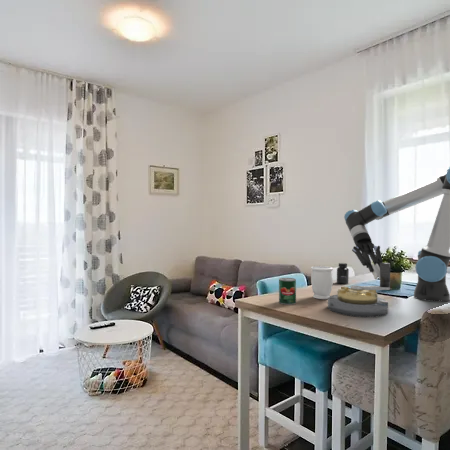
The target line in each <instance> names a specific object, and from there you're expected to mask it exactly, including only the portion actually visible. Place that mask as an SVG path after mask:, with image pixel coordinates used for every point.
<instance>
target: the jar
mask: <svg viewBox="0 0 450 450" xmlns="http://www.w3.org/2000/svg"><path fill="white" fill-rule="evenodd" d="M310 270H311V274H310V282H311V283H310V284H311V290H312V293H313V296H312V297H313V298H314V299H317V300H328V297H330V296H331V295H330V294H331V293H332V289H333V283H334V278H333V277H334V276H333V272H332V271H333V267H332V266H325V265H316V266H315V265H314V266H311V267H310Z"/></svg>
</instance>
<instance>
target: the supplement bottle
mask: <svg viewBox="0 0 450 450" xmlns="http://www.w3.org/2000/svg"><path fill="white" fill-rule="evenodd" d="M349 271H350V270H349V268H348V263H345V262H339V263H338V267H337V268H336V283H337V284H340V285H348V284H349V281H350V280H349V278H350V277H349V275H350V274H349V273H350V272H349Z"/></svg>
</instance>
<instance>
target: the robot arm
mask: <svg viewBox="0 0 450 450" xmlns="http://www.w3.org/2000/svg"><path fill="white" fill-rule="evenodd" d="M441 195H443V196H442V199H441V203H440V204H439V208H438V211H437V214H436V216H435V220H434V223H433V227H432V229H431V233H430V235H429V237H428V238H429V239H428V240H427V241H428V242H427V245H425V246H423V247H421V250H419V251H418V252H417V262H416V263H415V272H416V274H417V283H416V286H415V288H414V291H413V297H414V298H415V299H418V300H422V301H429V302H449V301H450V291H449V288H448V286H447V276H446V275H447V273H448V271H447V269H448V267H449V263H450V252H449V251H450V166H449V167H448V168H447V170H446V172H444V173H443V174H441V175H438V176H437V177H436V179H434V180H432V181H429V182H427V183H425V184H422V185H420V186H418V187H415V188H412V189H411V190H407V191H406V192H403V193H400V194H399V195H397V196H394V197H391V198H389V199H386V200H384V201H381V200H380V199H378V200H376V201H374V202H372V203H370V204H369V205H367V206H365V207H364V208H362V209H360V210H356V209H351V210H348V211H347V212H345V214H344V217H343V218H344V221H345V224H346V226H347V228H348V231H349V233H350V236H351V238H352V240H353V243H354V245H355V246H353V248H352V250H351V251H352V252H353V253H354V254H355V256H356V257H357V258H358V260H359V262H360V264H361V265H362V266H363V267H365V266H366V268H367V269H368V271H369V273H372V275H373V278H374V280H380V263H384V261H383V258H382V253H381V250H380V249H381V245H378V246H377V245H375V244H374V243H373V242H372V238H371V236H370V234H369V232H368V229H367V228H366V225H367V224H369V223H372V222H373V221H376V220H377V221H379V220H382V219H384V218H385V217H389V216H390V215H394V214H395V213H398V212H400V211H403V210H406V209H408V208H411V207H413V206H416V205H419V204H421V203H424V202H427V201H429V200H432V199H434V198H437V197H438V196H441ZM372 262H373V263H372Z"/></svg>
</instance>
